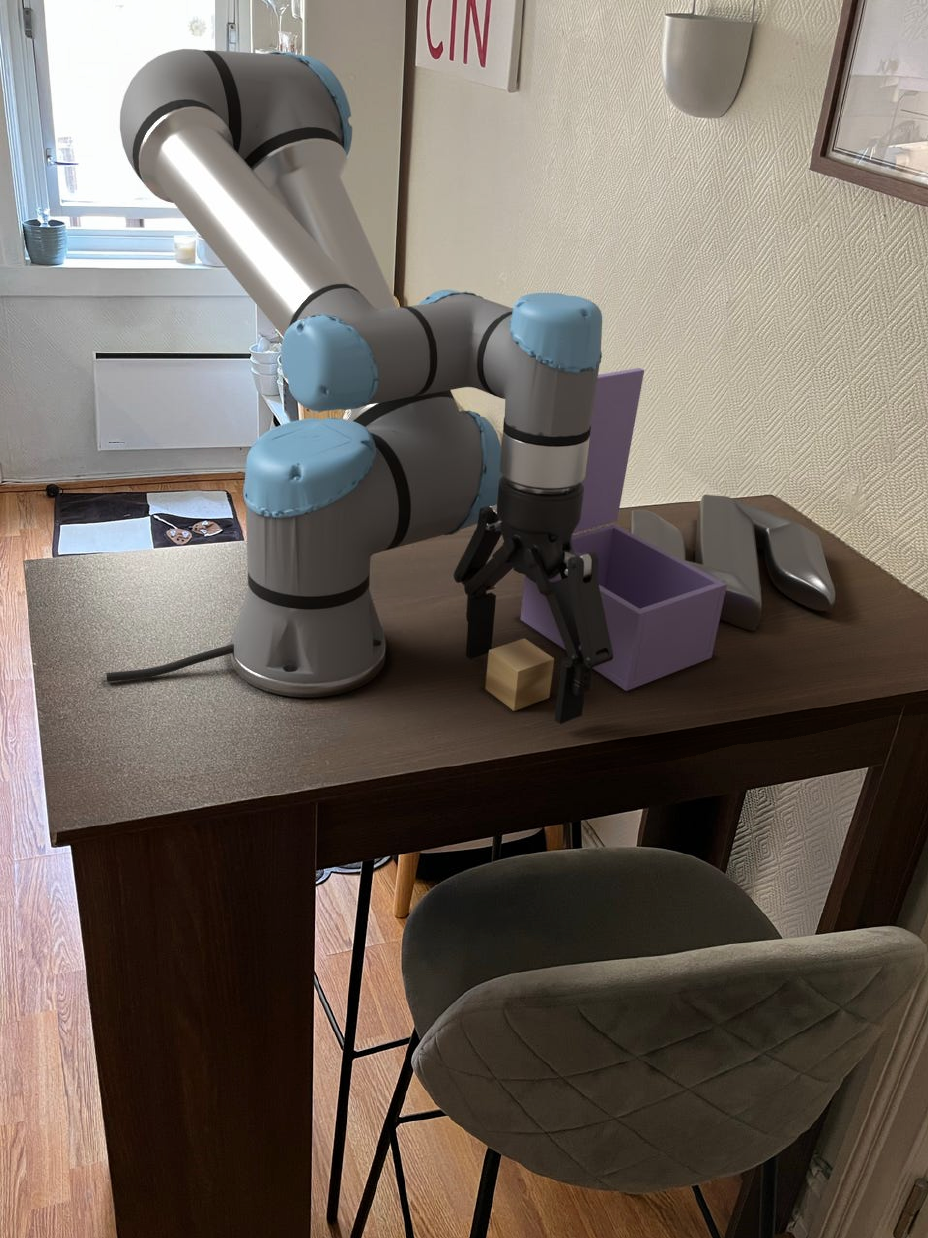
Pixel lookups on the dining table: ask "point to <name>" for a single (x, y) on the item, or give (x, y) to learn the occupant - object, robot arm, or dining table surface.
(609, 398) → the file box lid
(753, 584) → the emblem
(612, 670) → the box
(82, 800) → the dining table surface
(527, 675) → the beech block
